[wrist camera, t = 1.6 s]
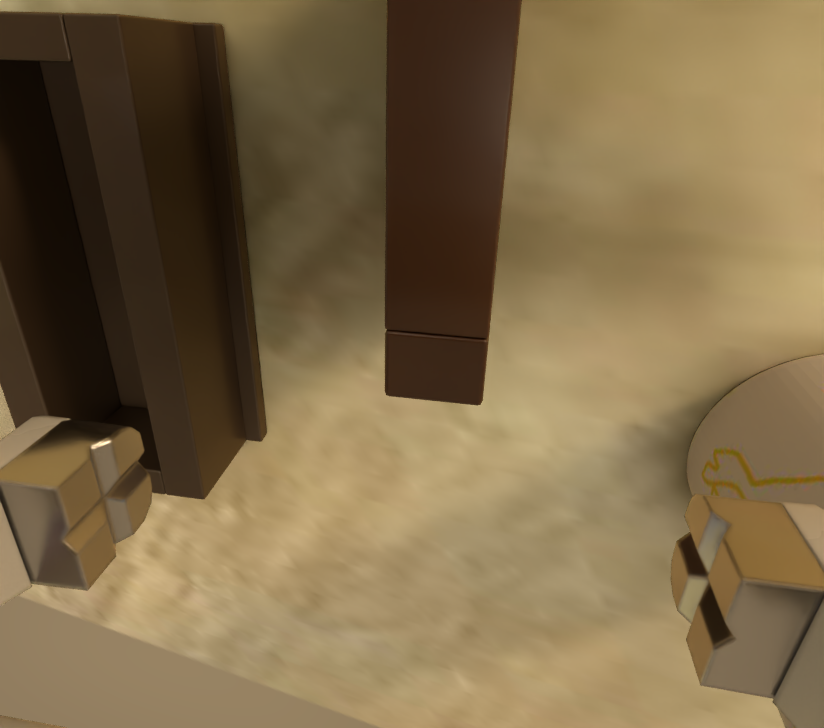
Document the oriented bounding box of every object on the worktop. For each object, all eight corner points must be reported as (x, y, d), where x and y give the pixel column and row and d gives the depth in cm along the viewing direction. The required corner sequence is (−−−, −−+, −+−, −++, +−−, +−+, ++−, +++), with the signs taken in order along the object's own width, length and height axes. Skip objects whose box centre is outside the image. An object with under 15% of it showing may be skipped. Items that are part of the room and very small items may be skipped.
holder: (223, 24, 17) (142, 14, 13) (267, 433, 23) (221, 502, 20) (-17, 17, 18) (-154, 7, 14) (90, 413, 24) (15, 475, 20)
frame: (533, -120, 14) (550, -297, 7) (494, 277, 19) (481, 407, 12) (450, -120, 14) (387, -291, 7) (432, 272, 19) (384, 397, 12)
